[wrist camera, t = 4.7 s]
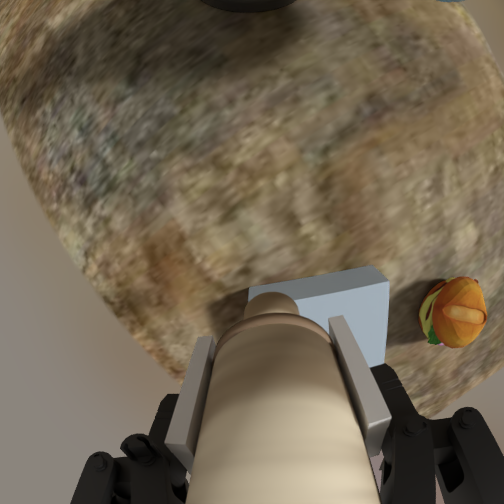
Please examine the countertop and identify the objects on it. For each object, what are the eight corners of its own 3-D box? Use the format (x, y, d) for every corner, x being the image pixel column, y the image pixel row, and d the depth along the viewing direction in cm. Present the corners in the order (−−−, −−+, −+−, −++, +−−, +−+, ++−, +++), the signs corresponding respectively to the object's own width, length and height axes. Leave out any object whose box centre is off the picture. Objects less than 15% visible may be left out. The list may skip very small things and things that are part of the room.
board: (249, 287, 32) (247, 307, 27) (372, 264, 31) (389, 280, 26) (273, 401, 37) (274, 425, 33) (367, 382, 36) (377, 404, 31)
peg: (214, 281, 16) (128, 540, 2) (313, 264, 15) (425, 523, 2) (235, 357, 17) (211, 566, 4) (320, 344, 17) (374, 551, 4)
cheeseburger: (415, 348, 34) (444, 377, 24) (402, 285, 34) (435, 302, 24) (464, 320, 33) (498, 340, 23) (454, 259, 33) (493, 267, 23)
